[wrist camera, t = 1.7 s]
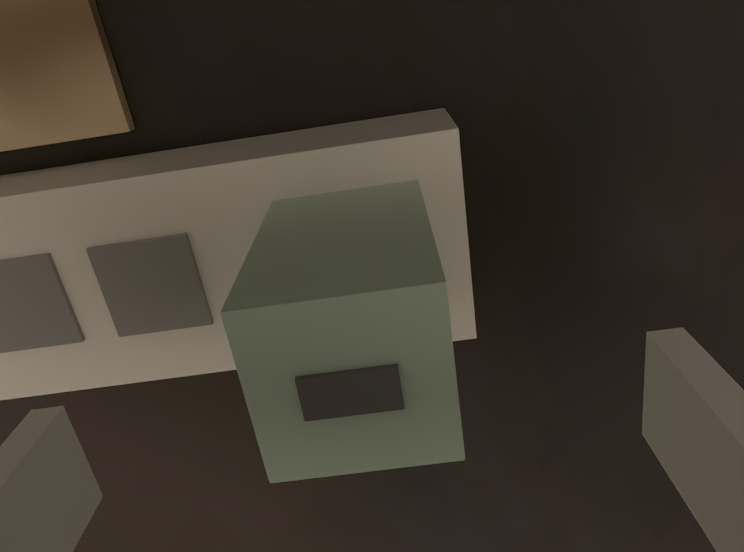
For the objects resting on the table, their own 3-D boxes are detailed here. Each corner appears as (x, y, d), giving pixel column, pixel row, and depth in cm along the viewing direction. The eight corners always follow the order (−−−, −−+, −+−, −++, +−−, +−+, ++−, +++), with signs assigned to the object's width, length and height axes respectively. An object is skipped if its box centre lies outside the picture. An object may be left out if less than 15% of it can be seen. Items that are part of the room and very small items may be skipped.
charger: (280, 184, 22) (218, 315, 13) (413, 164, 22) (447, 284, 13) (306, 302, 24) (268, 487, 15) (428, 285, 24) (466, 464, 15)
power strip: (-87, 365, 28) (-161, 425, 24) (-178, 202, 24) (-282, 241, 21) (461, 291, 26) (477, 342, 22) (444, 107, 23) (459, 130, 19)
